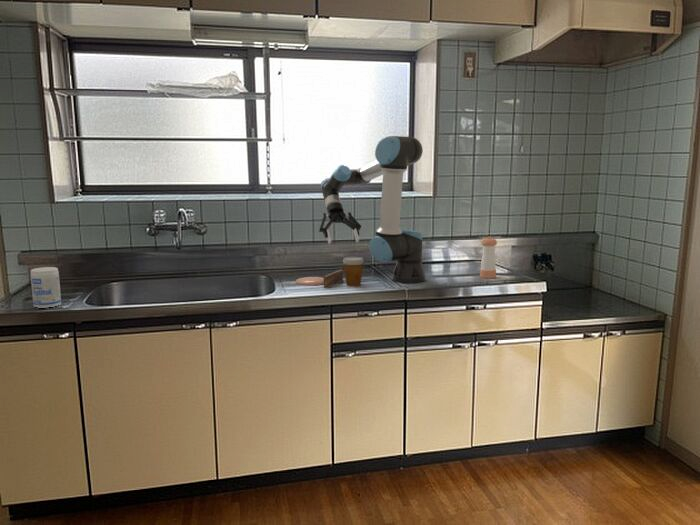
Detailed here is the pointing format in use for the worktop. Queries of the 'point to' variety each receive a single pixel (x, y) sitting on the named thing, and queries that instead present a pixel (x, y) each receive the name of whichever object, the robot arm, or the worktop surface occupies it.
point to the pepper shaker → (488, 258)
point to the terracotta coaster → (310, 281)
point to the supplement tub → (45, 287)
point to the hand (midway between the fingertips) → (344, 242)
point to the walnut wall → (333, 278)
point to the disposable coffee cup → (353, 270)
